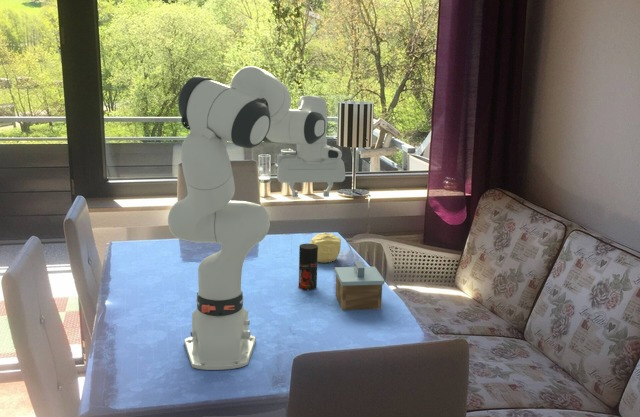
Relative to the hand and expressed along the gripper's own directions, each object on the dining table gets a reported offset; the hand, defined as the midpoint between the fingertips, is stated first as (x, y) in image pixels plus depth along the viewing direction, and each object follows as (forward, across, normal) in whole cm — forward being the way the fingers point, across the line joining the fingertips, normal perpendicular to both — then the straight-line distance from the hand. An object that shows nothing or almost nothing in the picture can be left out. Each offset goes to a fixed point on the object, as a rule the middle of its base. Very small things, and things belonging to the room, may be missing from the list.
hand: (310, 196), depth 192 cm
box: (+34, +15, -4) cm, 37 cm away
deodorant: (+34, +1, +10) cm, 36 cm away
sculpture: (+35, +12, +40) cm, 55 cm away
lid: (+25, +15, -4) cm, 29 cm away
